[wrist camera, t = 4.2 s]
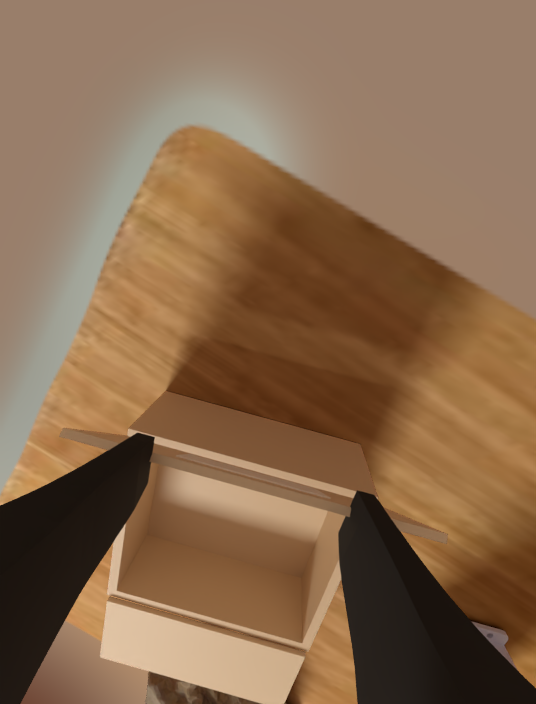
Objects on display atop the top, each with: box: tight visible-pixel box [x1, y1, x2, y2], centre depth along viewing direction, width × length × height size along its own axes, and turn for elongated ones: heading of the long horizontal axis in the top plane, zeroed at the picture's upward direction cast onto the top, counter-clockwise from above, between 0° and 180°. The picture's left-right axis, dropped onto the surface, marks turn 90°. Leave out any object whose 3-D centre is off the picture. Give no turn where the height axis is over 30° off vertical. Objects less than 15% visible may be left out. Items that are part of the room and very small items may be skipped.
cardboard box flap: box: [59, 428, 448, 544], centre depth 13 cm, size 14×6×1 cm
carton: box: [100, 391, 378, 704], centre depth 22 cm, size 14×19×5 cm
